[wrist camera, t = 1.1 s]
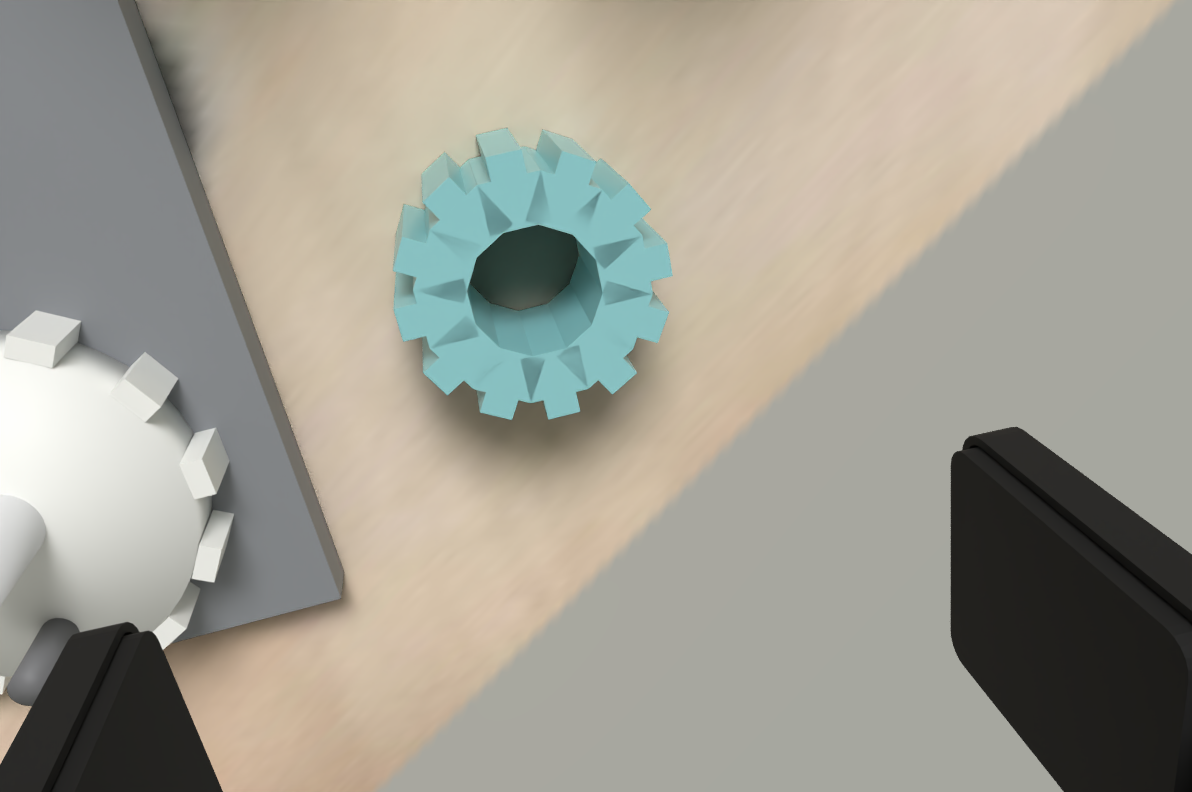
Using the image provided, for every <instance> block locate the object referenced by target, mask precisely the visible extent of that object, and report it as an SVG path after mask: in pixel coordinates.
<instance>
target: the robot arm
mask: <svg viewBox="0 0 1192 792" xmlns="http://www.w3.org/2000/svg"><path fill="white" fill-rule="evenodd" d="M951 638H952V642H953V646H954V649H955V652H956V653H957V656H958V658H959V660H960V661H961V663H962V664H963V665H964V667H965V668H966V669H967V670H968V672H969V673H970V674H971V676H972V677H973V678H974V679H975V681H976V682H977V683H978V684H979V686H980V687H981V688H982V689H983V691H984V692H985V693H986V694H987V696H988V697H989V698H990V700H991V701H992V702H993V703H994V704H995V706H996V707H997V708H998V710H999V711H1000V712H1001V713H1002V714H1003V716H1004V717H1005V718H1006V719H1007V721H1008V722H1009V723H1010V725H1011V726H1012V727H1013V728H1014V729H1015V731H1016V732H1017V733H1018V735H1019V736H1020V737H1021V738H1022V740H1023V741H1024V742H1025V743H1026V745H1027V746H1028V747H1029V749H1030V750H1031V751H1032V752H1033V753H1034V755H1035V756H1036V757H1037V758H1038V760H1039V761H1040V762H1041V764H1042V765H1043V766H1044V767H1045V769H1046V770H1047V771H1048V772H1049V774H1050V775H1051V776H1052V777H1053V779H1054V780H1055V781H1056V782H1057V784H1058V785H1059V786H1060V787H1061V789H1062V790H1063V791H1064V792H1192V554H1190V553H1189V552H1188V551H1186V550H1185V549H1184V548H1182V547H1181V546H1180V545H1178V544H1177V543H1175V542H1174V541H1172V540H1171V539H1170V538H1169V537H1167V536H1166V535H1165V534H1163V533H1162V532H1160V531H1159V530H1158V529H1156V528H1155V527H1154V526H1152V525H1151V524H1150V523H1148V522H1147V521H1146V520H1144V519H1143V518H1141V517H1140V516H1139V515H1138V514H1136V513H1135V512H1134V511H1132V510H1131V509H1129V508H1128V507H1127V506H1125V505H1124V504H1123V503H1121V502H1120V501H1119V500H1117V499H1116V498H1115V497H1113V496H1112V495H1111V494H1109V493H1108V492H1106V491H1105V490H1104V489H1102V488H1101V487H1100V486H1098V485H1097V484H1096V483H1094V482H1093V481H1091V480H1090V479H1089V478H1087V477H1086V476H1084V475H1083V474H1082V473H1081V472H1079V471H1078V470H1077V469H1075V468H1074V467H1073V466H1071V465H1070V464H1069V463H1067V462H1066V461H1064V460H1063V459H1062V458H1060V457H1059V456H1058V455H1056V454H1055V453H1054V452H1052V451H1051V450H1050V449H1048V448H1047V447H1046V446H1044V445H1043V444H1041V443H1040V442H1039V441H1037V440H1036V439H1035V438H1033V437H1032V436H1030V435H1029V434H1028V433H1027V432H1025V431H1024V430H1022V429H1020V428H1018V427H1010V428H1006V429H1002V430H997V431H992V432H987V433H983V434H978V435H974V436H970V437H968V438H967V439H966V440H965V442H964V445H963V450H962V451H957V452H955V453H954V455H953V457H952V461H951ZM0 792H223V791H222V789H221V786H220V784H219V782H218V779H217V777H216V775H215V772H214V770H213V767H212V765H211V763H210V760H209V758H208V756H207V753H206V751H205V749H204V746H203V744H202V741H201V739H200V737H199V734H198V732H197V730H196V727H195V725H194V723H193V720H192V718H191V715H190V713H189V711H188V708H187V706H186V704H185V701H184V699H183V697H182V694H181V692H180V689H179V687H178V685H177V682H176V680H175V678H174V675H173V673H172V671H171V668H170V666H169V663H168V661H167V659H166V656H165V654H164V652H163V649H162V647H161V645H160V642H159V640H158V638H157V637H156V635H155V634H154V633H153V632H152V631H144V632H139V630H138V628H137V627H136V626H135V625H134V624H133V623H130V622H124V623H120V624H115V625H110V626H106V627H101V628H97V629H92V630H88V631H83V632H79V633H76V634H73V635H72V636H71V637H70V639H69V640H68V641H67V643H66V645H65V647H64V649H63V650H62V652H61V654H60V656H59V658H58V660H57V662H56V663H55V665H54V667H53V669H52V671H51V673H50V674H49V676H48V678H47V680H46V682H45V684H44V685H43V687H42V689H41V691H40V693H39V695H38V696H37V698H36V700H35V702H34V704H33V706H32V707H31V709H30V711H29V713H28V715H27V717H26V719H25V720H24V722H23V724H22V726H21V728H20V730H19V731H18V733H17V735H16V737H15V739H14V741H13V742H12V744H11V746H10V748H9V750H8V752H7V753H6V755H5V757H4V759H3V761H2V763H1V764H0Z"/></svg>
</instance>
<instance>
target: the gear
mask: <svg viewBox="0 0 1192 792" xmlns="http://www.w3.org/2000/svg"><path fill="white" fill-rule="evenodd" d="M476 138H477V142H478V146H479V150H480V154H481V156H480V157H476V158H471V159H468V160H467V161H466V162H465V163H464V164H463V165H462V166H461V167H460V168H459V166H458V165H457V164H456V163H455V162H454V161H453V160H452V159H451V158H450V157H449V156H448V155H447V154H446V153H445V152H444V153H443V154H442V155H441V156H440V157H439V158H438V159H437V160H436V161H435V162H434V163H432V164H431V165H430V166H429V167H428V168H427V169H426V170H425V171H424V172H423V173H422V202H423V203H424V204H425V205H426V207H425V210H423V209H419V208H416V207H412V206H409V205H406V204H404V205H403V209H402V213H401V217H400V221H399V224H398V228H397V232H396V239H395V251H394V264H393V271H395V272H396V280H395V295H394V312H395V316H396V319H397V323H398V326H399V329H400V333H401V336H402V339H403V342H404V341H408V340H412V339H416V338H420V337H422V346H423V373H424V374H425V375H426V376H427V377H428V378H429V379H430V380H431V381H432V382H433V383H435V384H436V385H437V386H438V387H439V388H440V389H441V390H442V391H443V392H444V393H445V394H447V395H449V394H450V393H451V392H452V391H453V390H454V389H455V388H456V387H457V386H458V385H459V384H461V383H462V382H463V381H465V382H466V383H467V384H468V385H469V386H470V387H471V388H473V389H474V390H477V397H478V404H479V410H480V413H485V414H489V415H493V416H497V417H501V418H506V419H510V420H512V418H513V415H514V412H515V409H516V406H517V403H518V400H520V401H524V402H528V403H534V402H538V401H543V404H544V407H545V410H546V414H547V417H548V420H549V419H553V418H557V417H561V416H565V415H569V414H573V413H577V412H580V408H579V403H578V399H577V395H576V392H578V391H582V390H586V389H589V388H590V387H591V386H592V385H593V384H594V383H596V382H597V381H598V380H599V381H600V382H601V383H602V384H603V386H604V387H605V388H606V389H607V390H608V391H609V392H610V393H611V394H612V395H613V394H614V393H615V392H616V391H617V390H618V389H619V388H620V387H622V386H623V385H624V384H625V383H626V382H627V381H628V380H630V379H631V378H632V377H633V376H634V375H635V374H636V373H637V372H636V370H635V368H634V367H633V365H632V363H631V361H630V360H629V358H628V356H627V354H628V353H629V352H630V351H632V350H633V347H634V345H635V342H636V339H637V337H638V338H641V339H645V340H649V341H652V342H656V343H658V341H659V338H660V335H661V333H662V330H663V327H664V325H665V322H666V319H667V316H668V314H669V311H668V310H667V309H666V308H665V306H664V305H663V304H662V303H661V301H660V300H659V299H658V298H657V296H656V295H655V294H654V292H653V291H652V286H651V281H654V280H658V279H662V278H666V277H670V276H673V275H672V269H671V263H670V257H669V252H668V246H667V243H666V242H665V241H664V240H663V239H662V238H661V237H660V236H659V235H658V234H657V233H656V232H655V231H654V230H653V229H652V228H651V227H650V226H649V225H648V224H647V223H646V222H645V221H644V220H643V219H642V217H644V216H645V215H646V214H647V213H648V212H649V211H650V210H651V209H650V207H649V206H648V205H647V204H646V203H645V202H644V200H643V199H642V198H641V197H640V196H639V195H638V193H637V192H636V191H635V190H634V189H633V188H632V186H631V185H630V184H629V183H628V182H627V181H626V180H625V179H623V178H622V177H621V176H620V175H619V174H618V173H617V172H616V171H615V170H613V169H612V168H611V167H610V166H609V165H608V164H607V163H606V162H605V161H603V160H602V159H599V160H598V161H597V162H596V161H595V160H594V159H593V158H592V157H591V156H590V155H589V154H587V153H586V152H585V151H584V150H583V149H582V148H581V147H580V146H579V145H578V144H577V143H576V142H575V141H574V140H573V139H570V138H567V137H564V136H561V135H558V134H555V133H552V132H549V131H546V130H543V129H542V132H541V136H540V139H539V142H538V146H537V149H536V150H534V149H531V148H528V147H525V146H524V147H520V146H519V145H518V143H517V142H516V140H515V139H514V137H513V136H512V134H511V133H510V131H509V130H508V128H504V129H500V130H496V131H491V132H487V133H482V134H478V135H476ZM535 225H542V226H545V227H548V228H552V229H555V230H559V231H562V232H565V233H569V234H572V235H573V236H574V237H575V238H576V243H577V247H578V252H579V257H578V260H577V263H576V266H575V269H574V272H573V275H572V278H571V281H570V284H569V285H567V286H566V287H565V288H564V289H563V290H562V291H561V292H560V293H559V294H558V295H556V296H555V297H554V298H553V299H552V300H551V301H550V302H549V303H548V304H544V305H540V306H536V307H532V308H528V309H524V310H520V311H517V310H513V309H510V308H506V307H502V306H499V305H495V304H491V303H489V302H488V301H487V300H486V299H485V298H484V297H483V296H482V295H481V294H480V293H479V292H478V291H477V290H476V289H475V288H474V287H473V286H472V285H471V284H470V283H469V282H470V279H471V276H472V272H473V269H474V265H475V262H476V259H477V257H478V256H479V255H480V254H481V253H482V252H483V251H484V250H486V249H487V248H488V247H489V246H490V245H491V244H492V243H493V242H494V241H495V240H496V239H497V238H498V237H499V236H500V235H502V234H503V233H505V232H509V231H514V230H518V229H522V228H526V227H530V226H535Z"/></svg>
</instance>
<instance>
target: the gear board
mask: <svg viewBox="0 0 1192 792" xmlns="http://www.w3.org/2000/svg"><path fill="white" fill-rule="evenodd" d="M343 578H344V570H343V568H342V565H341V562H340V559H339V557H338V554H337V551H336V548H335V546H334V543H333V540H332V538H331V535H330V532H329V529H328V527H327V524H326V521H325V518H324V516H323V513H322V510H321V508H320V505H319V502H318V499H317V497H316V494H315V491H314V488H313V486H312V483H311V480H310V478H309V475H308V472H307V469H306V467H305V464H304V461H303V458H302V456H301V453H300V450H299V448H298V445H297V442H296V439H295V437H294V434H293V431H292V429H291V426H290V423H289V420H288V418H287V415H286V412H285V409H284V407H283V404H282V401H281V399H280V396H279V393H278V390H277V388H276V385H275V382H274V379H273V377H272V374H271V371H270V369H269V366H268V363H267V360H266V358H265V355H264V352H263V349H262V347H261V344H260V341H259V339H258V336H257V333H256V330H255V328H254V325H253V322H252V319H251V317H250V314H249V311H248V309H247V306H246V303H245V300H244V298H243V295H242V292H241V289H240V287H239V284H238V281H237V279H236V276H235V273H234V270H233V268H232V265H231V262H230V260H229V257H228V254H227V251H226V249H225V246H224V243H223V240H222V238H221V235H220V232H219V230H218V227H217V224H216V221H215V219H214V216H213V213H212V210H211V208H210V205H209V202H208V200H207V197H206V194H205V191H204V189H203V186H202V183H201V180H200V178H199V175H198V172H197V170H196V167H195V164H194V161H193V159H192V156H191V153H190V150H189V148H188V145H187V142H186V140H185V137H184V134H183V131H182V129H181V126H180V123H179V120H178V118H177V115H176V112H175V110H174V107H173V104H172V101H171V99H170V96H169V93H168V91H167V88H166V85H165V82H164V80H163V77H162V74H161V71H160V69H159V66H158V63H157V61H156V58H155V55H154V52H153V50H152V47H151V44H150V41H149V39H148V36H147V33H146V31H145V28H144V25H143V22H142V20H141V17H140V14H139V11H138V9H137V6H136V3H135V1H134V0H0V694H3V692H4V691H5V689H6V687H7V692H8V695H9V696H10V698H11V699H12V700H13V701H15V702H17V703H19V704H21V705H26V706H33V704H34V702H35V700H36V698H37V696H38V695H39V693H40V691H41V689H42V687H43V685H44V684H45V682H46V680H47V678H48V676H49V674H50V673H51V671H52V669H53V667H54V665H55V663H56V662H57V660H58V658H59V656H60V654H61V652H62V650H63V649H64V647H65V645H66V643H67V641H68V640H69V639H70V637H71V636H72V635H73V634H76V633H79V632H83V631H88V630H92V629H97V628H101V627H106V626H110V625H115V624H120V623H124V622H130V623H133V624H134V625H135V626H136V627H137V628H138V630H139V632H144V631H152V632H153V633H154V634H155V635H156V637H157V638H158V640H159V642H160V645H161V647H162V649H163V650H164V649H165V648H166V647H167V646H168V645H169V644H171V643H175V642H178V641H182V640H186V639H190V638H194V637H197V636H201V635H205V634H209V633H212V632H216V631H220V630H224V629H228V628H231V627H235V626H239V625H243V624H247V623H250V622H254V621H258V620H262V619H265V618H269V617H273V616H277V615H281V614H284V613H288V612H292V611H296V610H300V609H303V608H307V607H311V606H315V605H318V604H322V603H326V602H330V601H334V600H337V599H341V595H342V587H343Z"/></svg>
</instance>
